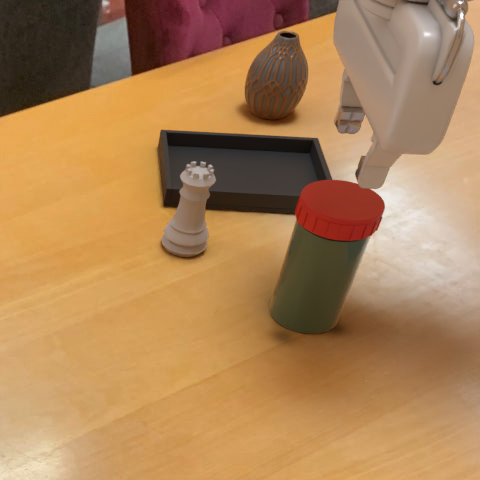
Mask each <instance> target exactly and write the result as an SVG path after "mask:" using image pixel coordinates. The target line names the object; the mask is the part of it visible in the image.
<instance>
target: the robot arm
mask: <svg viewBox="0 0 480 480" xmlns="http://www.w3.org/2000/svg"><path fill="white" fill-rule="evenodd" d="M472 1H474V0H338V3H337V7H336V12H335V15H334V16H335V17H334V21H333V22H334V23H333V35H332V36H333V37H332V42H333V46H334V48H335V49H336V52H337V54H338V56H339V59H340V61H341V63H342V65H343V68H344V69H343V72H342V76H341V84H340V91H339V92H340V94H339V104H338V107H337V111H336V113H335V117H334V120H333V121H334V122H333V123H334V125H335V127H336V130H337V132H338V133H339V134H343V135H344V134H349V135H355V134H357V133H359V131H360V130H361V127H362V123H363V121H364V119H365V118H366V120H367V121H368V123H369V125H370V128H371V130H372V135H371V138H370V142H371V145H370V147H369V148H368V151H367V152H366V154H365V155H361V156H360V157H359V161H358V163H357V168H356V169H355V171H354V175H355V176H354V177H355V179H356V183H357V184H358V185H359V186H360V187H361V188H366V189H371V190H378V189H380V188H382V187H383V186H384V184H385V181H386V179H387V176H388V174H389V171H390V168H392V166H393V165H394V164H395V163H396V162H397V160H398V159H399V158H400V157H401V156H402V155H410V156H411V155H412V156H414V155H415V156H427V155H431V154H432V153H433V152H434V151H435V150H436V149H437V148H438V147H439V146H440V145H441V144H442V142H443V141H444V139H445V137H446V134H447V131H448V128H449V126H450V123H451V121H452V118H453V115H454V113H455V110H456V107H457V104H458V102H459V99H460V96H461V93H462V90H463V87H464V85H465V82H466V79H467V75H468V73H469V69H470V65H471V63H472V58H473V53H474V50H475V49H474V48H475V33H474V30H473V28H472V25H470V23H469V22H468V21H467V19H466V15H467V14H468V12H469V2H472Z"/></svg>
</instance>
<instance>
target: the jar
mask: <svg viewBox="0 0 480 480" xmlns="http://www.w3.org/2000/svg"><path fill="white" fill-rule="evenodd" d="M371 237H372V236H370V237H367V238H365V239H362V240H355V241H340V240H333V239H328V238H324V237H321V236H318V235H316V234H313V233H311V232H310V231H308V230H306V229H305V228H303V227H302V226H301V225H300V224H299V222H298V221H297V220H296V219H295V222H294V225H293V229H292V232H291V236H290V238H289V241H288V245H287V248H286V251H285V255H284V257H283V262H282V265H281V267H280V271H279V273H278V277H277V279H276V283H275V287H274V290H273V293H272V296H271V300H270V303H269V306H268V310H269V314H270V316H271V317H272V319H273V320H274V321H275V322H276V323H277V324H279V325H280V326H282V327H284V328H285V329H288V330H290V331H292V332H297V333H301V334H311V335H316V334H317V335H318V334H322V333H326V332H329V331H331V330H332V329H334V328H335V327H336V326H337V324H338V323H339V320H340V317H341V315H342V313H343V309H344V306H345V304H346V302H347V299H348V297H349V294H350V292H351V288H352V286H353V284H354V281H355V278H356V275H357V273H358V270H359V268H360V265H361V262H362V259H363V257H364V255H365V253H366V250H367V247H368V244H369V242H370V239H371Z"/></svg>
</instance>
